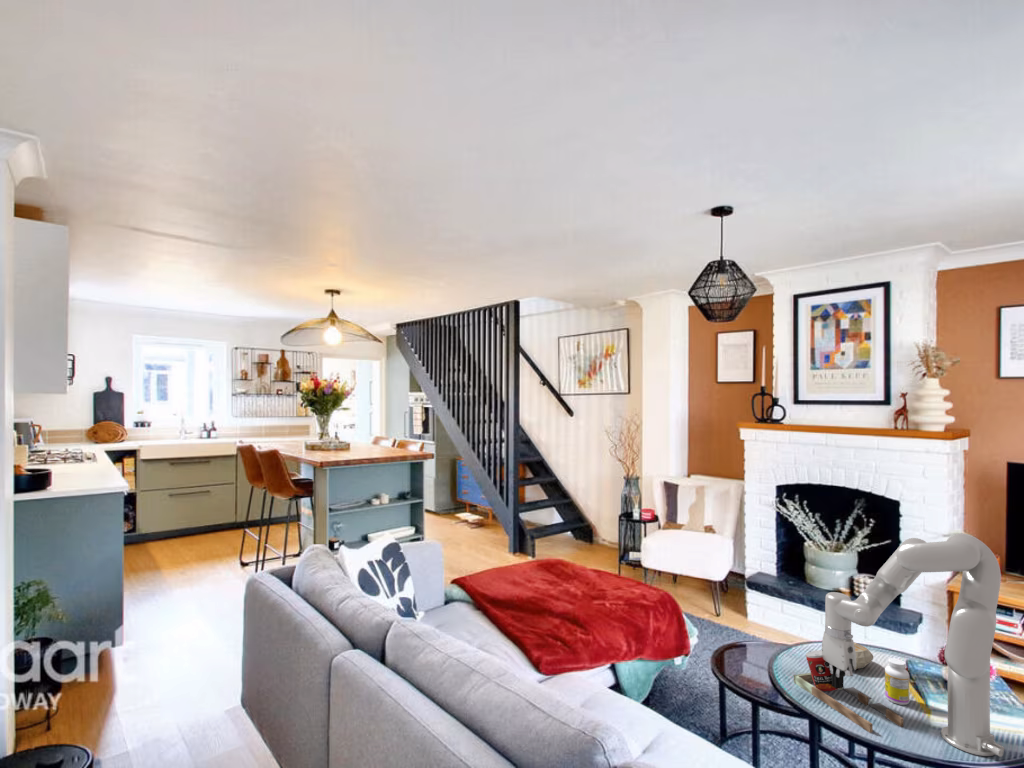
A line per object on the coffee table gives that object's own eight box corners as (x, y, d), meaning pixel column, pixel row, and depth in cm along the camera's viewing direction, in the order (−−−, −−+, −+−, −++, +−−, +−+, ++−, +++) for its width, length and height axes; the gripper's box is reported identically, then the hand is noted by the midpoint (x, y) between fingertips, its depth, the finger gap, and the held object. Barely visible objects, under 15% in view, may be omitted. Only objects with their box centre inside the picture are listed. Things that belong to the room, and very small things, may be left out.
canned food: (814, 691, 186) (804, 656, 190) (816, 685, 193) (806, 651, 196) (839, 691, 182) (828, 655, 186) (841, 684, 189) (830, 649, 192)
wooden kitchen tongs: (914, 724, 169) (914, 716, 169) (869, 732, 165) (869, 724, 165) (833, 676, 198) (833, 669, 198) (793, 682, 194) (793, 675, 194)
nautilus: (833, 678, 198) (805, 660, 213) (886, 670, 201) (854, 654, 216) (831, 655, 198) (803, 639, 213) (883, 648, 202) (852, 633, 216)
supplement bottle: (887, 692, 188) (887, 654, 188) (911, 700, 183) (911, 661, 183) (882, 700, 183) (882, 661, 183) (907, 708, 178) (906, 668, 178)
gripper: (866, 640, 178) (866, 697, 177) (828, 621, 192) (828, 674, 192) (848, 642, 176) (847, 700, 175) (811, 623, 190) (810, 677, 190)
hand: (837, 686), depth 183 cm, fingers closed
